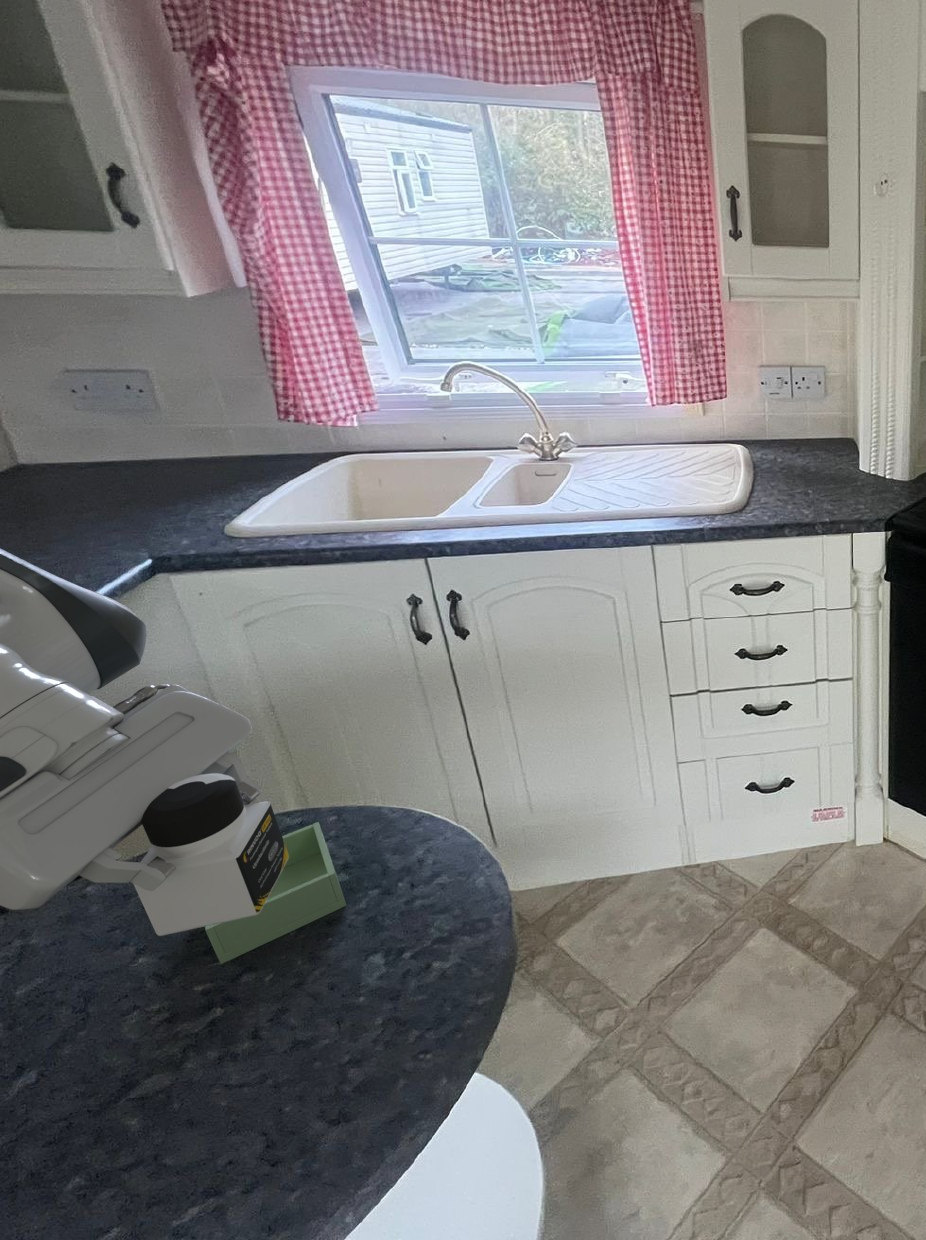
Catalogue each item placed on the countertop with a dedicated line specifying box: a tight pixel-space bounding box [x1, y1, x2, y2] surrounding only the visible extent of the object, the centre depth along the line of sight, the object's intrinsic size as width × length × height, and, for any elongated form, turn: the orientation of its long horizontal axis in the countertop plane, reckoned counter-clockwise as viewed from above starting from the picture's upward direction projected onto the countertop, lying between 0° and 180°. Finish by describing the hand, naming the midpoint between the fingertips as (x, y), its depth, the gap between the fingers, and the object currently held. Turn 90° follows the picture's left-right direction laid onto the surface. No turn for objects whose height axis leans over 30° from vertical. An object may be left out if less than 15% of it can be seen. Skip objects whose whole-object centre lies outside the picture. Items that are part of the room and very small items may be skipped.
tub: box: [204, 821, 347, 965], centre depth 87 cm, size 11×11×5 cm
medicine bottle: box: [132, 773, 289, 937], centre depth 68 cm, size 7×7×12 cm
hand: (212, 837), depth 68 cm, fingers closed on medicine bottle, 8 cm apart
